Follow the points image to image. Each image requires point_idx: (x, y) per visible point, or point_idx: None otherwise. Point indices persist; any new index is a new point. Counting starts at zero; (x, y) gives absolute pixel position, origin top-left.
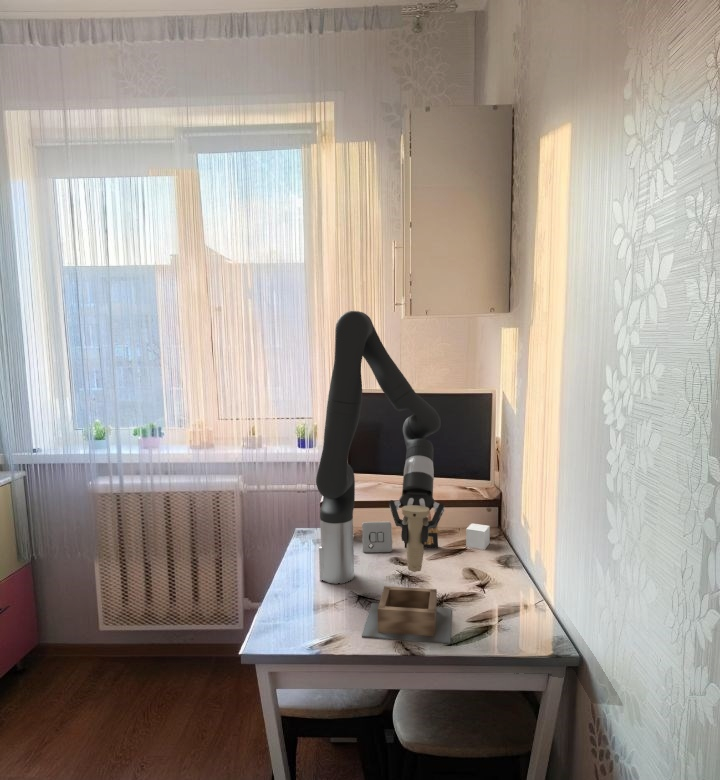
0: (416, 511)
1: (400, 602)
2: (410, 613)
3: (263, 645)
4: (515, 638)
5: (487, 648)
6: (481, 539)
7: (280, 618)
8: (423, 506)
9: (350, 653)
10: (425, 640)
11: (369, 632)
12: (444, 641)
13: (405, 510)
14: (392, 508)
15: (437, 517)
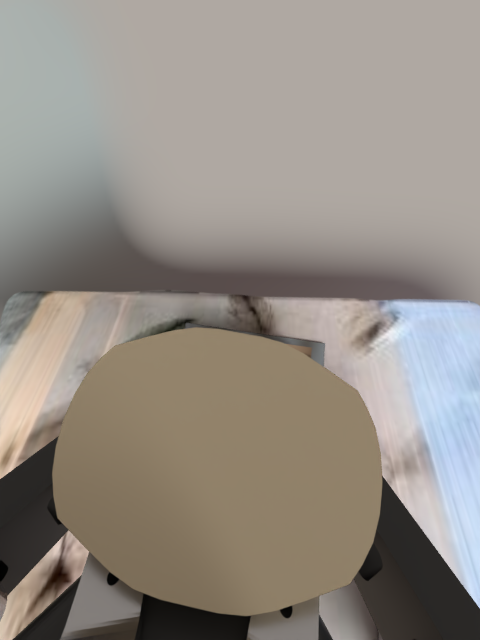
0: (217, 345)
1: None
2: None
3: (467, 323)
4: (79, 337)
5: (133, 310)
6: None
7: (477, 410)
8: (102, 554)
9: (334, 301)
10: (223, 328)
11: (313, 353)
12: (194, 324)
13: (333, 375)
14: (476, 627)
15: (40, 457)
